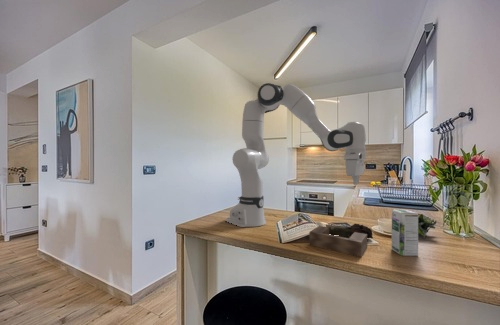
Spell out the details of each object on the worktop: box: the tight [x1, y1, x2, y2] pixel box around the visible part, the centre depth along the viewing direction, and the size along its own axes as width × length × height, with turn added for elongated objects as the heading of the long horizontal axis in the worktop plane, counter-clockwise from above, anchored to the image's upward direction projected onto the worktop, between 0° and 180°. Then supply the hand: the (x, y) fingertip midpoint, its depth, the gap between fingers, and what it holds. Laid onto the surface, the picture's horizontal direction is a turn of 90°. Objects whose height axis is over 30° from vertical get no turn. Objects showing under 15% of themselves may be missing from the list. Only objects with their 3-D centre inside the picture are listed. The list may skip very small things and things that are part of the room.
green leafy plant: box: [417, 212, 437, 240], centre depth 91 cm, size 11×11×12 cm
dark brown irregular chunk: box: [325, 223, 374, 239], centre depth 92 cm, size 18×7×6 cm, turn 65°
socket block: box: [308, 225, 368, 258], centre depth 81 cm, size 18×10×5 cm, turn 52°
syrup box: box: [391, 208, 419, 257], centre depth 75 cm, size 6×6×14 cm
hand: (356, 184), depth 105 cm, fingers closed
